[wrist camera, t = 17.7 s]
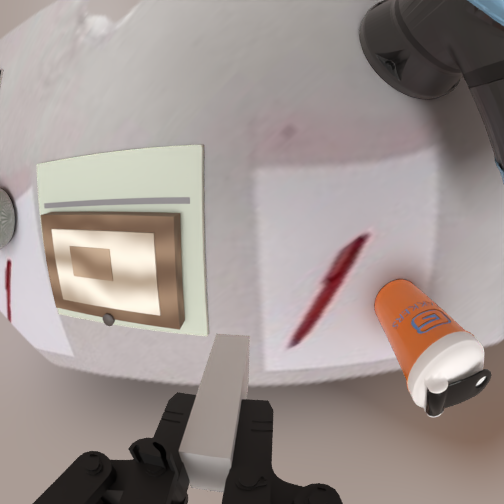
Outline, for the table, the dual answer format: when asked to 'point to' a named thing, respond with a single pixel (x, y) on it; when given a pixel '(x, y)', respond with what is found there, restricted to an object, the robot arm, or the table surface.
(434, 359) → the shaker bottle
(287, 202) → the table surface
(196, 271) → the wall panel
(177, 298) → the frame
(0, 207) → the planter
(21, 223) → the table surface
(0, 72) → the smartphone
